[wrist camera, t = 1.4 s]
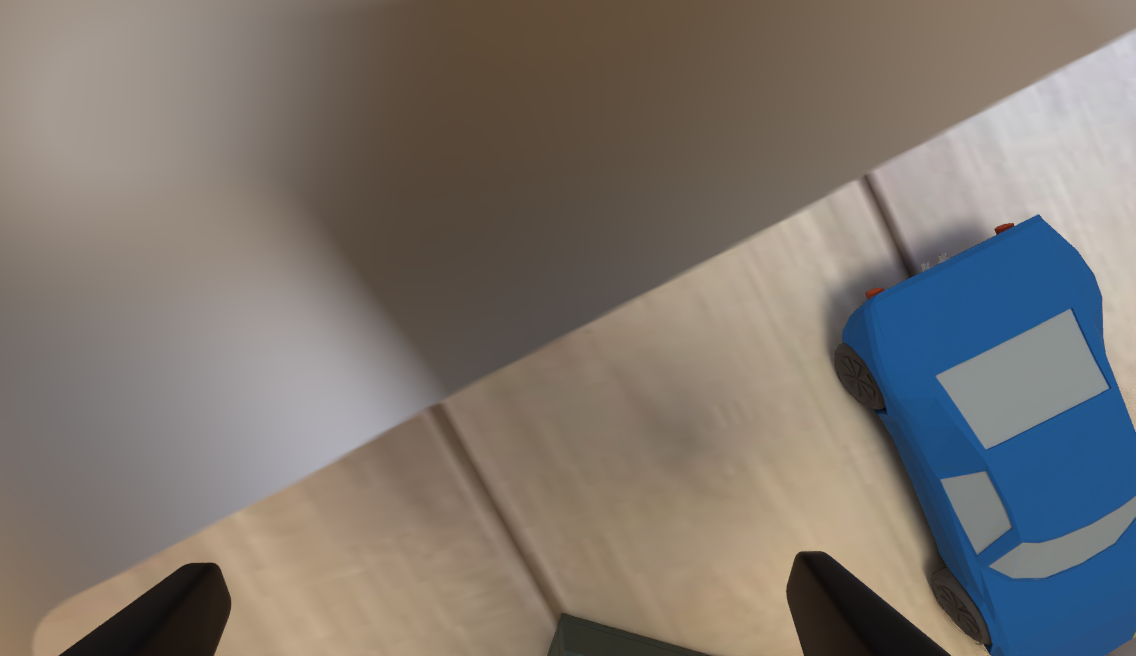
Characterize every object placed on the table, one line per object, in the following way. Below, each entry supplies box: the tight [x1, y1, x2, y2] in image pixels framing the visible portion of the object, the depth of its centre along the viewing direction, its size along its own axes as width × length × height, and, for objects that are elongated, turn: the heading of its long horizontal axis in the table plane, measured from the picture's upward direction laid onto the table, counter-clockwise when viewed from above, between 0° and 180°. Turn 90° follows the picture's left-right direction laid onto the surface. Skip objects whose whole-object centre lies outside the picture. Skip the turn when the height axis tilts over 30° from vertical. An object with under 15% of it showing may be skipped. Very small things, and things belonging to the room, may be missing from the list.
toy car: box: [835, 214, 1136, 656], centre depth 23 cm, size 9×20×5 cm, turn 26°
